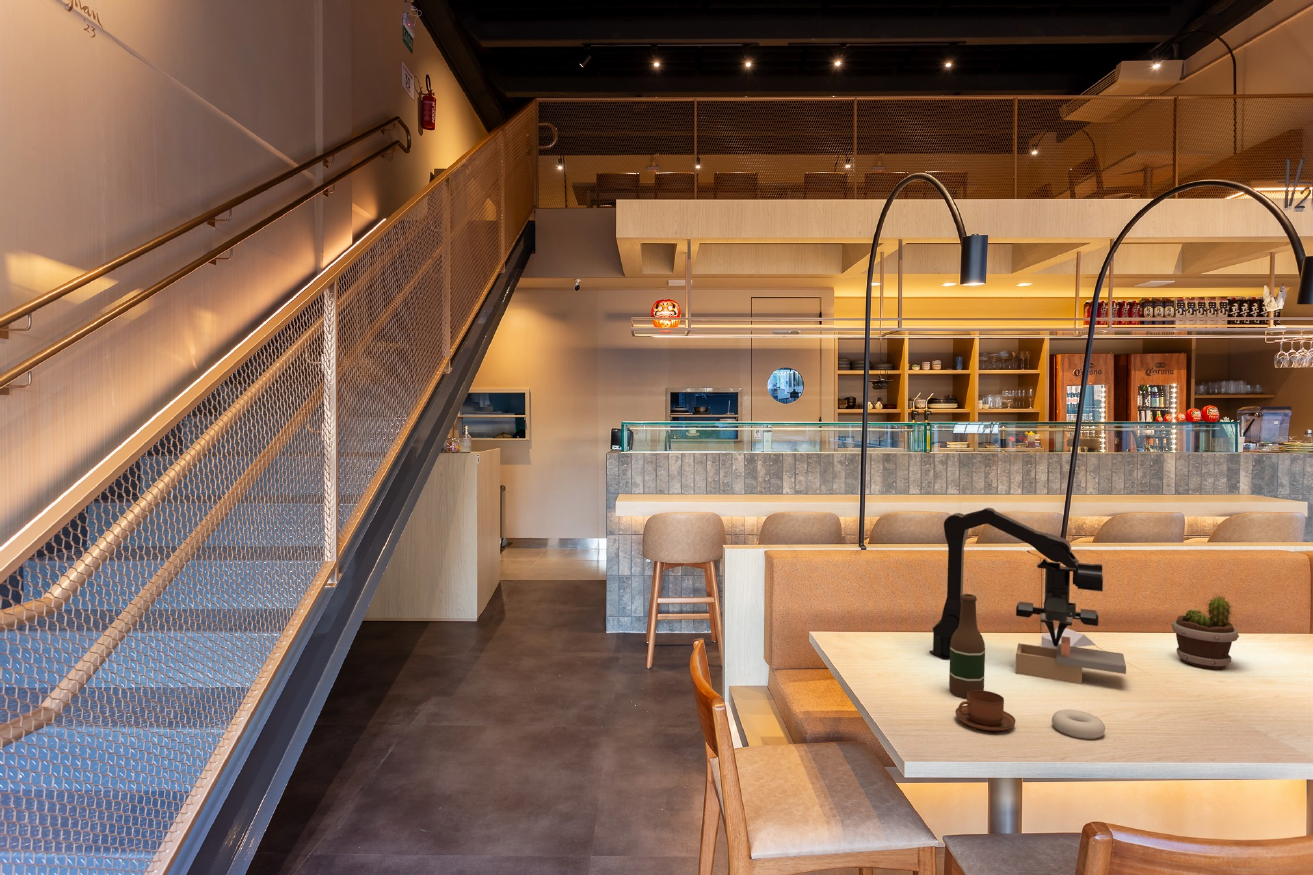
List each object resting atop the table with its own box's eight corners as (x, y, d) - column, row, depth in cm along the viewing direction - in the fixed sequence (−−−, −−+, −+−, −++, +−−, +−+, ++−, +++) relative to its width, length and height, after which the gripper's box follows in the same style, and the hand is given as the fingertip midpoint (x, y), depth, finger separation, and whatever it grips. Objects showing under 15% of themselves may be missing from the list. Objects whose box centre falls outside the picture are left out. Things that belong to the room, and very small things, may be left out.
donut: (1070, 719, 167) (1041, 726, 162) (1071, 704, 167) (1041, 710, 162) (1115, 737, 158) (1085, 745, 153) (1116, 720, 158) (1086, 728, 153)
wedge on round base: (1096, 656, 210) (1059, 643, 222) (1096, 633, 210) (1059, 620, 222) (1069, 659, 207) (1034, 645, 220) (1070, 635, 207) (1034, 622, 220)
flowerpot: (1179, 668, 200) (1181, 594, 199) (1164, 652, 214) (1166, 582, 214) (1245, 676, 195) (1248, 600, 194) (1226, 658, 209) (1228, 587, 208)
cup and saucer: (989, 740, 155) (990, 710, 155) (943, 719, 166) (943, 691, 166) (1027, 729, 161) (1028, 701, 161) (980, 709, 172) (981, 683, 171)
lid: (1056, 663, 190) (1056, 644, 190) (1056, 651, 200) (1057, 633, 200) (1125, 674, 183) (1126, 654, 183) (1122, 660, 193) (1123, 642, 193)
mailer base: (1015, 673, 195) (1016, 653, 195) (1017, 662, 204) (1018, 643, 204) (1081, 683, 188) (1082, 662, 188) (1081, 672, 197) (1081, 652, 197)
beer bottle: (982, 690, 183) (984, 592, 182) (985, 701, 176) (987, 600, 175) (948, 686, 186) (950, 590, 185) (949, 697, 178) (951, 597, 178)
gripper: (1015, 588, 192) (1013, 648, 193) (1100, 597, 183) (1098, 660, 184) (1017, 580, 202) (1016, 637, 202) (1098, 588, 193) (1096, 648, 193)
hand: (1055, 646), depth 195 cm, fingers closed
